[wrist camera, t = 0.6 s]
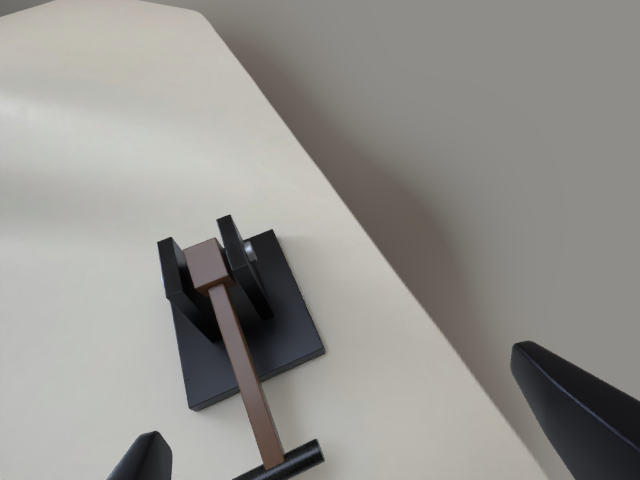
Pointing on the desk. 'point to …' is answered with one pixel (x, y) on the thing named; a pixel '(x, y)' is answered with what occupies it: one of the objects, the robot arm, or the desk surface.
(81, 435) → the desk surface
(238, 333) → the lever
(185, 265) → the bracket
